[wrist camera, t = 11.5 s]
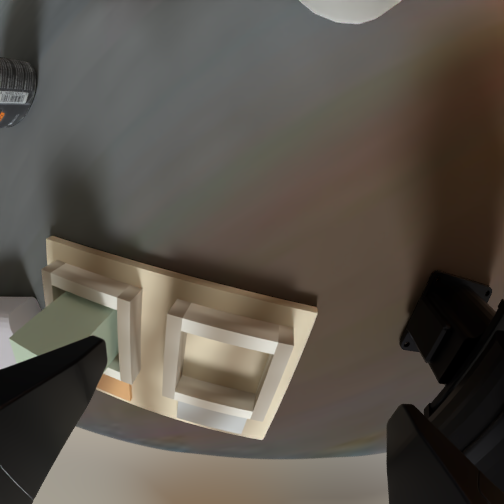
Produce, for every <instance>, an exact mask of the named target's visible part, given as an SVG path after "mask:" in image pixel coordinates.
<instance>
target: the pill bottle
mask: <svg viewBox="0 0 504 504" xmlns="http://www.w3.org/2000/svg"><path fill="white" fill-rule="evenodd" d="M35 89H36V74H35V70H34V68H33V66H32V65H31V64H30V63H28V62H25V61H20V60H15V59H9V58H2V57H0V128H3V127H12V126H14V125H16V124H18V123H19V122H20V121H21V120H22V119H23V118H24V116H25V115H26V113H27V112H28V110H29V108H30V106H31V104H32V101H33V98H34V94H35Z"/></svg>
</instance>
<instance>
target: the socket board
mask: <svg viewBox="0 0 504 504" xmlns="http://www.w3.org/2000/svg"><path fill="white" fill-rule="evenodd" d="M46 247H47V264H48V266H46V267H44V268H43V269H42V279H43V288H44V296H45V304H46V307H47V306H48V305H49V304H51V303H52V302H53V301H54V300H56V299H57V298H58V297H59V296H61V295H62V294H63V293H65V292H66V291H68V292H70V293H73V294H75V295H78V296H80V297H83V298H85V299H88V300H90V301H93V302H96V303H98V304H101V305H104V306H107V307H109V308H112V309H115V310H117V330H118V351H119V353H118V354H117V355H116V357H115V358H114V360H113V361H112V362H111V364H110V365H109V366H108V368H107V369H106V371H105V372H104V373H103V375H102V377H101V379H100V381H99V383H98V385H97V387H96V389H97V390H99V391H102V392H104V393H106V394H109V395H111V396H113V397H116V398H118V399H121V400H123V401H126V402H128V403H131V404H133V405H136V406H139V407H141V408H144V409H147V410H150V411H153V412H156V413H158V414H161V415H165V416H168V417H171V418H174V419H177V420H180V421H184V422H187V423H191V424H194V425H198V426H201V427H205V428H209V429H213V430H217V431H221V432H225V433H230V434H234V435H239V436H244V437H249V438H254V439H259V440H263V438H264V436H265V434H266V432H267V430H268V428H269V426H270V424H271V422H272V420H273V418H274V416H275V413H276V411H277V409H278V407H279V405H280V403H281V400H282V398H283V396H284V394H285V392H286V389H287V387H288V385H289V383H290V380H291V378H292V376H293V373H294V371H295V369H296V366H297V364H298V362H299V359H300V357H301V354H302V352H303V349H304V347H305V345H306V342H307V340H308V337H309V335H310V332H311V329H312V327H313V324H314V322H315V319H316V316H317V314H318V312H317V307H314V306H309V305H305V304H300V303H296V302H292V301H287V300H283V299H279V298H275V297H270V296H266V295H262V294H258V293H254V292H250V291H246V290H242V289H238V288H234V287H230V286H226V285H222V284H218V283H214V282H210V281H206V280H203V279H199V278H195V277H191V276H188V275H184V274H180V273H177V272H173V271H169V270H166V269H162V268H158V267H155V266H151V265H148V264H144V263H141V262H137V261H134V260H130V259H127V258H123V257H120V256H117V255H113V254H110V253H106V252H103V251H100V250H96V249H93V248H90V247H87V246H83V245H80V244H77V243H74V242H71V241H67V240H64V239H61V238H58V237H55V236H51V237H48V238H46Z"/></svg>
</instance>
